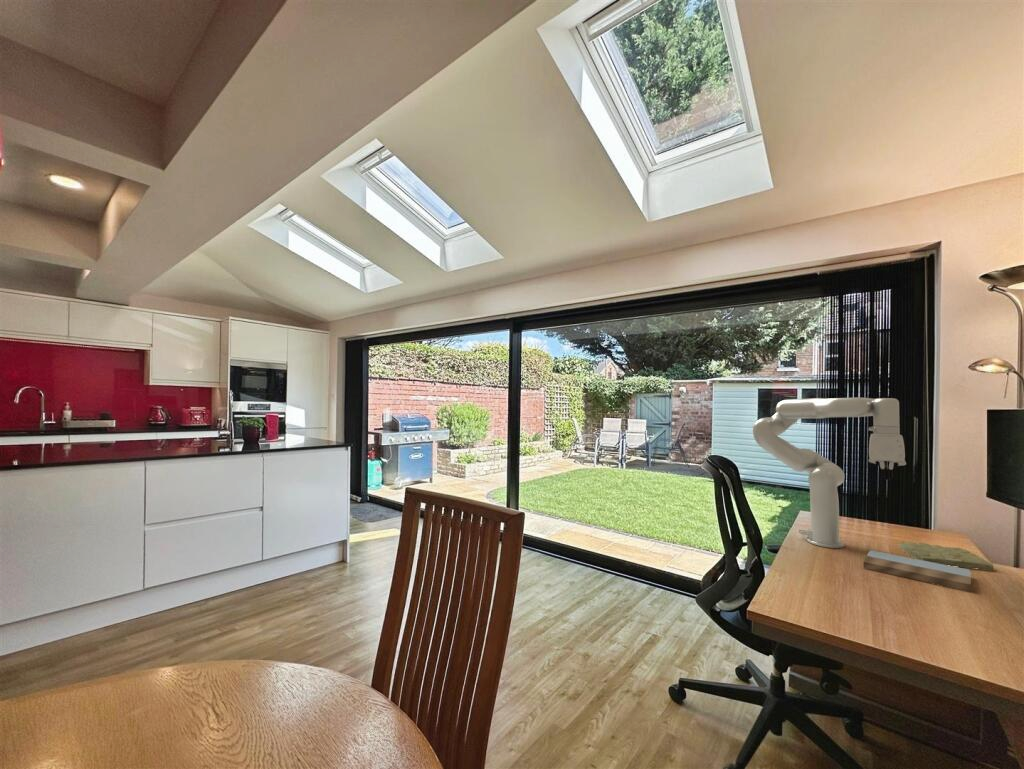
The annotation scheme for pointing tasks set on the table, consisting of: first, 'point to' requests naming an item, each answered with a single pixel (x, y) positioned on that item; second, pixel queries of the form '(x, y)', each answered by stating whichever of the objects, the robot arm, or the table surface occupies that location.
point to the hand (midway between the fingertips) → (887, 479)
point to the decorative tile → (945, 555)
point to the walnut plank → (919, 573)
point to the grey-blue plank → (920, 563)
